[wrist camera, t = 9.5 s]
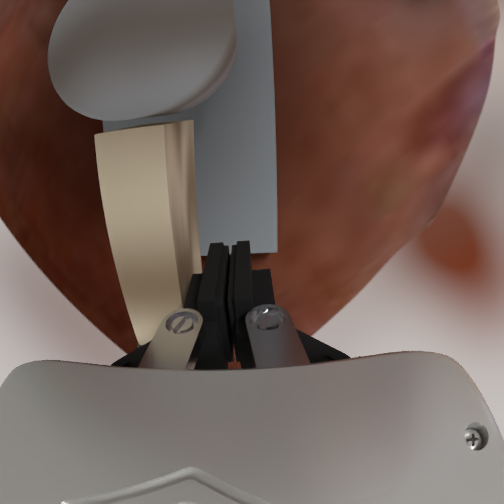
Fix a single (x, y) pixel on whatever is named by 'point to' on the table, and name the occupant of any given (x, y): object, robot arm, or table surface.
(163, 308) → the lever handle
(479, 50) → the table surface
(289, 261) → the table surface
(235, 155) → the mount plate
